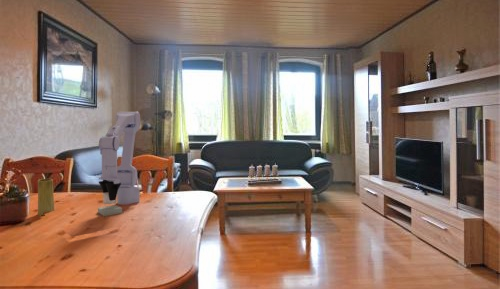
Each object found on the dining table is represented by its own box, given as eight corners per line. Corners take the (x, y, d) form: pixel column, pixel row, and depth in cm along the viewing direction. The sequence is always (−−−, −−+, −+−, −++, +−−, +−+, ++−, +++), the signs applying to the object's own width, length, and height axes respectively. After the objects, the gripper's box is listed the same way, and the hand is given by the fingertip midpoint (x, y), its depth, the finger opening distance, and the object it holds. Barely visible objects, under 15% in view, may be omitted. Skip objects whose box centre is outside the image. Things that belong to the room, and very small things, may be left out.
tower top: (115, 209, 134) (115, 205, 134) (121, 213, 129) (121, 208, 129) (97, 212, 129) (97, 207, 129) (104, 216, 124) (104, 211, 124)
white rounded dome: (113, 200, 132) (113, 191, 132) (117, 202, 129) (117, 193, 129) (101, 202, 129) (101, 192, 129) (105, 204, 126) (105, 194, 125)
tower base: (116, 213, 135) (116, 209, 135) (124, 217, 129) (124, 212, 129) (96, 217, 129) (96, 212, 129) (104, 221, 124) (103, 216, 124)
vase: (46, 216, 128) (45, 181, 127) (33, 215, 129) (32, 180, 128) (58, 212, 134) (57, 178, 133) (45, 211, 135) (45, 178, 134)
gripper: (92, 165, 131) (93, 197, 131) (106, 168, 120) (106, 203, 121) (110, 163, 136) (110, 195, 136) (124, 166, 125) (124, 200, 126)
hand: (109, 199), depth 129 cm, fingers closed on white rounded dome, 5 cm apart
